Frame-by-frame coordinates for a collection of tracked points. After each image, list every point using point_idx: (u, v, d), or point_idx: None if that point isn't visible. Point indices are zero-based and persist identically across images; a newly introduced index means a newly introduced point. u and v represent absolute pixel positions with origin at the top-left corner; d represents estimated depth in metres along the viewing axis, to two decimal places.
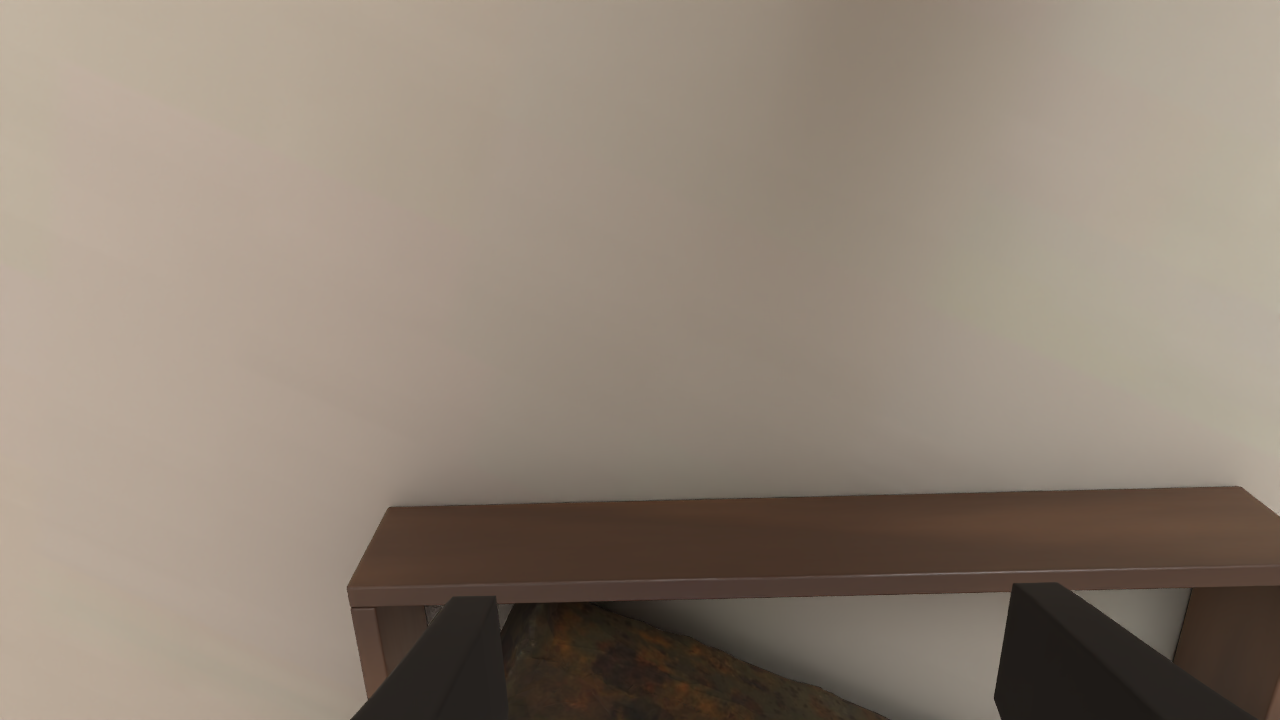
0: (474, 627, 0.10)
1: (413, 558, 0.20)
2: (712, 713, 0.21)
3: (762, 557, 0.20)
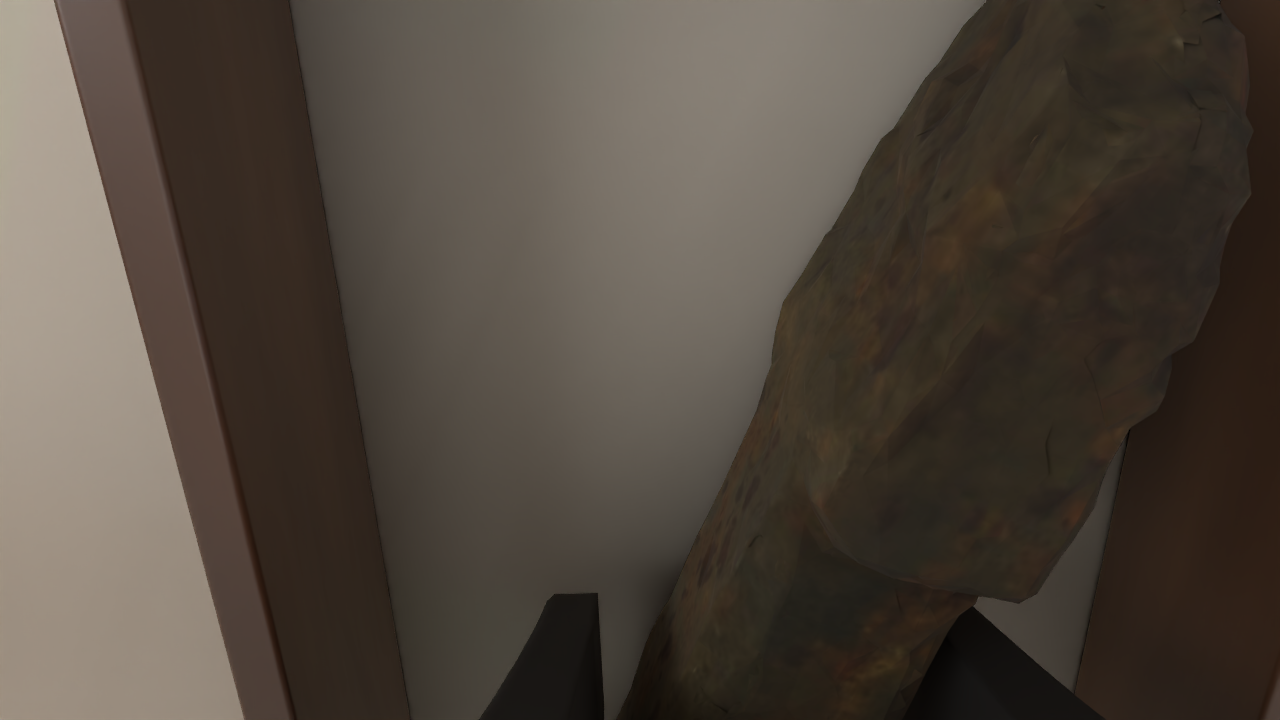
0: (585, 624, 0.10)
1: None
2: None
3: None
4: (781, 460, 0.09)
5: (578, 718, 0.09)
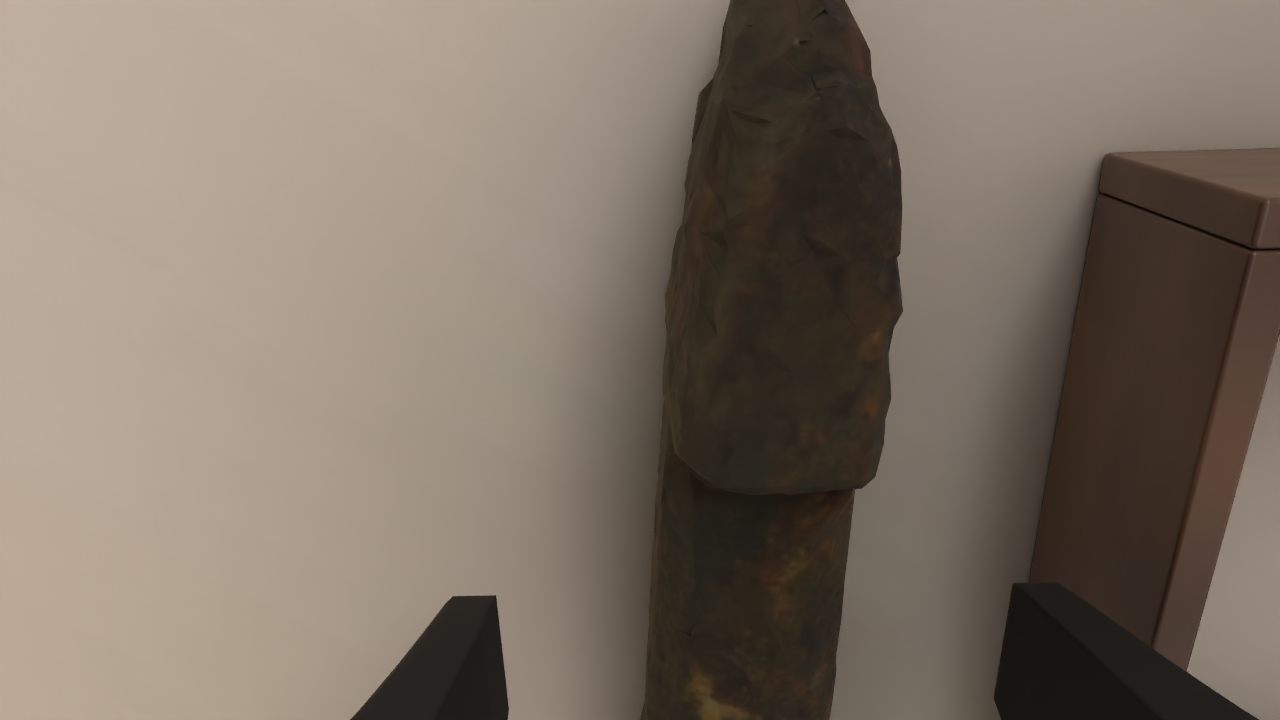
0: (474, 627, 0.10)
1: None
2: None
3: None
4: (666, 425, 0.11)
5: None
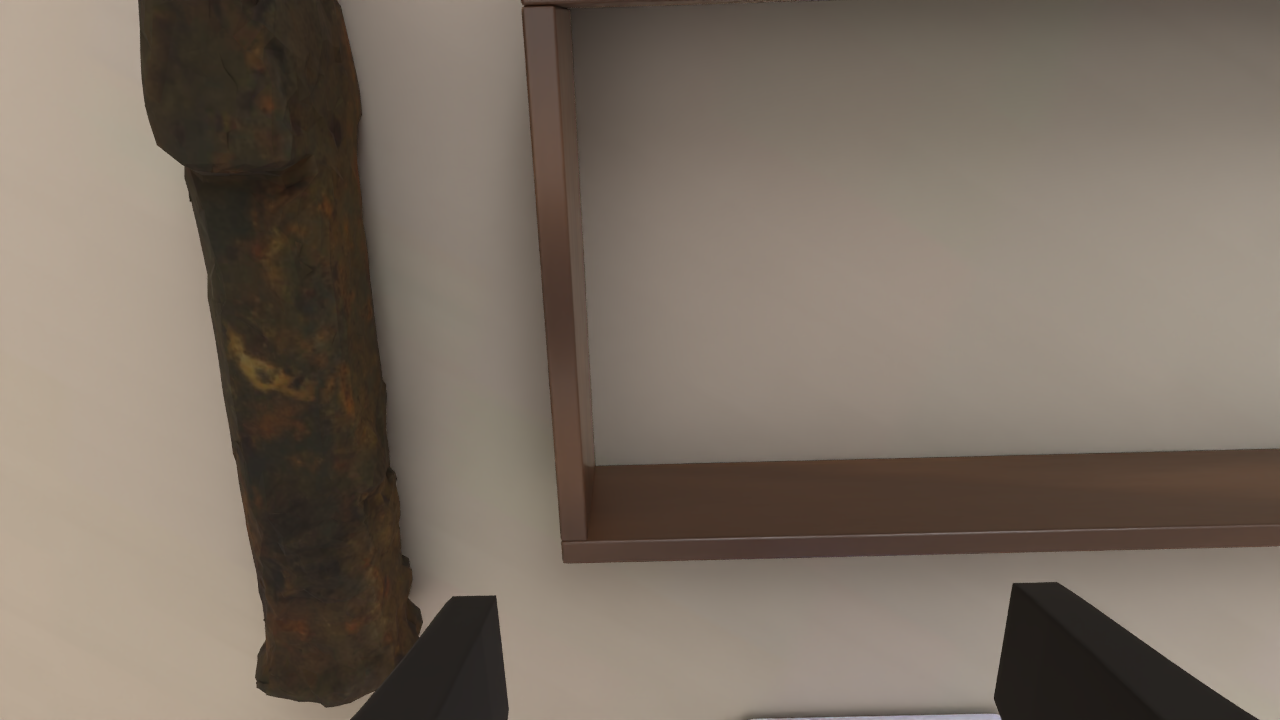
0: (474, 627, 0.10)
1: None
2: (245, 500, 0.19)
3: None
4: None
5: None
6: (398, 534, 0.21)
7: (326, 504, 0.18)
